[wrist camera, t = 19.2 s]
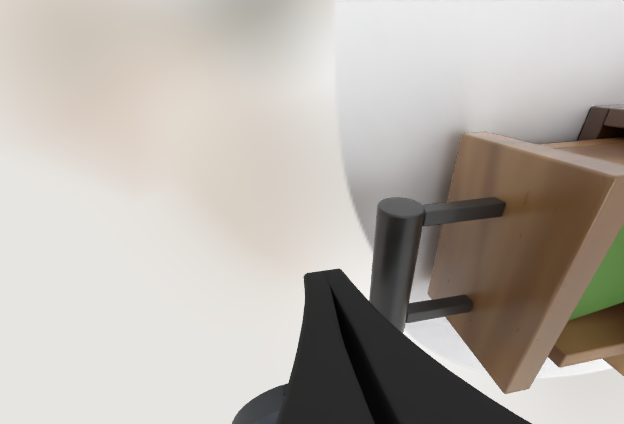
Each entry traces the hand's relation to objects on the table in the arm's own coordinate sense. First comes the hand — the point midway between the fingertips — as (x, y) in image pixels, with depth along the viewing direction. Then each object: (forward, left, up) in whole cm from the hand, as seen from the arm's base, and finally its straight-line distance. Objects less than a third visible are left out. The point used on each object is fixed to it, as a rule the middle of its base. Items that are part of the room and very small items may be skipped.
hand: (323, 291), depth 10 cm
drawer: (+10, 0, -3) cm, 11 cm away
